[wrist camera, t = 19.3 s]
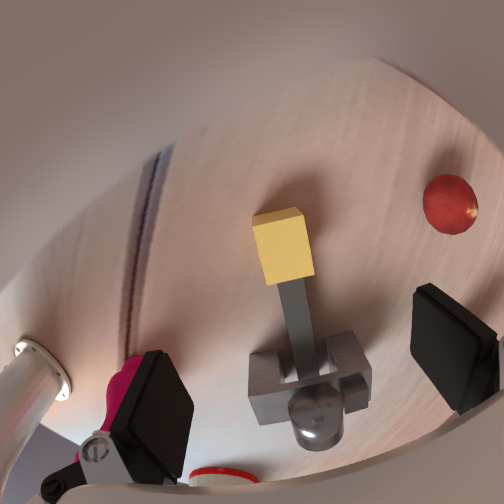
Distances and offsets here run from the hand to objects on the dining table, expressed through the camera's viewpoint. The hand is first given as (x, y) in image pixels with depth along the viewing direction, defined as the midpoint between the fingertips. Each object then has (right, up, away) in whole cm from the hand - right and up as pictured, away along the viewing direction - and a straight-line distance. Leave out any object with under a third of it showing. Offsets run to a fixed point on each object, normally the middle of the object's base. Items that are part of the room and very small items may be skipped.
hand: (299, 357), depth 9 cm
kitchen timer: (-7, -43, +32) cm, 54 cm away
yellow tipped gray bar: (+3, -2, +19) cm, 19 cm away
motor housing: (+4, -9, +21) cm, 23 cm away
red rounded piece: (+17, +9, +15) cm, 25 cm away
